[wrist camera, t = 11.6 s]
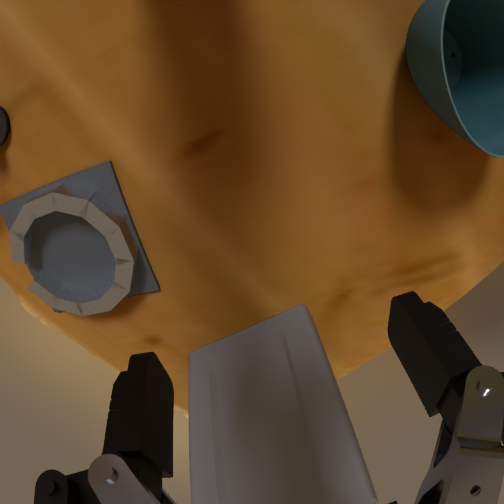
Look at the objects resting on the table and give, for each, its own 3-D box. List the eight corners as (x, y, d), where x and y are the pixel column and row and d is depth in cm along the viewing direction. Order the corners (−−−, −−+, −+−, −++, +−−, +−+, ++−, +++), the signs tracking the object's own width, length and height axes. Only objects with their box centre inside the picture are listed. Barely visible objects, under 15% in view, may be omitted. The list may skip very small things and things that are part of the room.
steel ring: (3, 208, 30) (-9, 219, 28) (108, 166, 31) (99, 174, 28) (56, 308, 39) (49, 322, 36) (155, 286, 39) (152, 302, 36)
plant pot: (490, 30, 25) (558, 37, 15) (467, 145, 34) (532, 178, 24) (382, -35, 22) (449, -61, 11) (356, 103, 31) (421, 124, 20)
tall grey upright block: (233, 397, 54) (252, 544, 30) (186, 353, 47) (190, 536, 23) (333, 357, 52) (387, 508, 28) (303, 302, 44) (373, 497, 20)
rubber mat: (0, 205, 31) (-2, 207, 30) (111, 160, 31) (109, 161, 30) (56, 309, 40) (54, 312, 39) (160, 287, 40) (159, 290, 39)
